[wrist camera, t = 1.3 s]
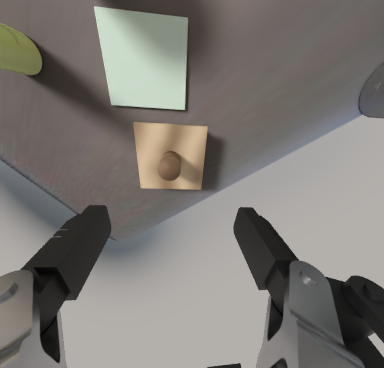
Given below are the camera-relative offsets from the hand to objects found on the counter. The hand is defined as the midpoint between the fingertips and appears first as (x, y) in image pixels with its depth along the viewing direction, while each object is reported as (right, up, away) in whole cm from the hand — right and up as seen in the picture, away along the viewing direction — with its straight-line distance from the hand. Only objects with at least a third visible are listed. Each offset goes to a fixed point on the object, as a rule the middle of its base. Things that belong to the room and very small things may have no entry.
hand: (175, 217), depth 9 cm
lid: (-2, +6, +16) cm, 17 cm away
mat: (-6, +20, +13) cm, 24 cm away
